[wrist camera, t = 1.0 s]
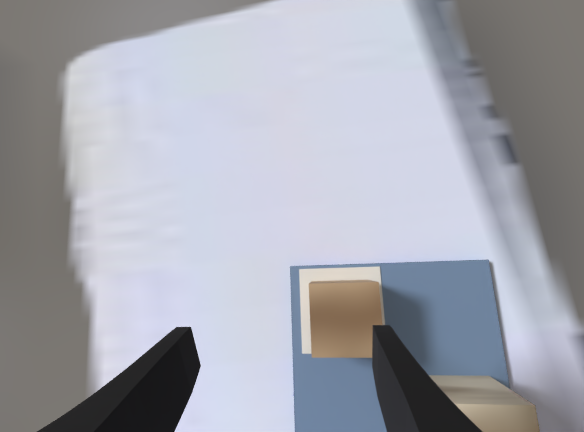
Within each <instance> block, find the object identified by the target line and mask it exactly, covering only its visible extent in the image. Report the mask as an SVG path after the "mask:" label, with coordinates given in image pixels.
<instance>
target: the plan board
mask: <svg viewBox="0 0 584 432" xmlns="http://www.w3.org/2000/svg"><path fill="white" fill-rule="evenodd" d="M290 277H291V312H292V346H293V380H294V415H295V432H387V430H386V426H385V423H384V419H383V415H382V412H381V408H380V404H379V401H378V397H377V392H376V386H375V381H374V375H373V369H372V358H312V354H311V330H310V306H309V283H310V282H311V281H336V280H372V281H376V282H379V291H380V302H381V313H382V324H383V325H390V326H391V327H392V328H393V330H394V331H395V333H396V334H397V335H398V337H399V338H400V340H401V341H402V342H403V344H404V345H405V346H406V348H407V349H408V350H409V352H410V353H411V354H412V356H413V357H414V358H415V359H416V361H417V362H418V363H419V364H420V365H421V367H422V368H423V369H424V370H425V371H426V373H427V374H428V375H457V376H490V377H492V378H493V379H495V380H497V381H498V382H500V383H501V384H503V385H504V386H506V387H507V388H509V389H510V386H509V380H508V374H507V368H506V362H505V356H504V350H503V344H502V338H501V332H500V326H499V320H498V314H497V308H496V302H495V296H494V290H493V284H492V278H491V272H490V266H489V260H466V261H436V262H405V263H375V264H345V265H315V266H290Z"/></svg>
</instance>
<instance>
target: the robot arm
mask: <svg viewBox="0 0 584 432" xmlns="http://www.w3.org/2000/svg"><path fill="white" fill-rule="evenodd" d="M200 366H201V365H200V361H199V357H198V353H197V349H196V345H195V341H194V337H193V333H192V329H191V327H176V328H175V329H174V330H172V331H171V332H170V333H169V334H167V335H166V336H165V337H164V338H163V339H161V340H160V341H159V342H158V343H157V344H155V345H154V346H153V347H152V348H151V349H150V350H148V351H147V352H146V353H145V354H144V355H142V356H141V357H140V358H139V359H138V360H136V361H135V362H134V363H133V364H132V365H130V366H129V367H128V368H127V369H125V370H124V371H123V372H122V373H120V374H119V375H118V376H116V377H115V378H114V379H113V380H111V381H110V382H109V383H107V384H106V385H105V386H104V387H102V388H101V389H100V390H98V391H97V392H96V393H94V394H93V395H92V396H90V397H89V398H87V399H86V400H85V401H83V402H82V403H81V404H79V405H77V406H76V407H75V408H73V409H72V410H70V411H69V412H67V413H66V414H64V415H63V416H61V417H60V418H58V419H57V420H55V421H53V422H52V423H50V424H49V425H47V426H46V427H44V428H42V429H41V430H39V431H37V432H174V431H175V429H176V427H177V425H178V422H179V420H180V418H181V416H182V414H183V412H184V409H185V407H186V405H187V403H188V400H189V398H190V396H191V394H192V391H193V388H194V385H195V382H196V379H197V376H198V373H199V369H200ZM372 369H373V375H374V381H375V386H376V392H377V397H378V401H379V404H380V408H381V412H382V415H383V419H384V423H385V426H386V430H387V432H483V431H482V430H480V429H479V428H478V427H477V426H476V425H475V424H474V423H473V422H472V421H471V420H470V419H469V418H468V417H467V416H466V415H465V414H464V413H463V412H462V411H461V410H460V409H459V408H458V407H457V406H456V405H455V404H454V403H453V402H452V401H451V400H450V399H449V397H448V396H447V395H446V394H445V393H444V392H443V391H442V390H441V389H440V388H439V387H438V385H437V384H436V383H435V382H434V381H433V380H432V379H431V377H430V376H429V375H428V374H427V373H426V371H425V370H424V369H423V368H422V367H421V365H420V364H419V363H418V362H417V361H416V359H415V358H414V357H413V356H412V354H411V353H410V352H409V350H408V349H407V348H406V346H405V345H404V344H403V342H402V341H401V340H400V338H399V337H398V335H397V334H396V333H395V331H394V330H393V328H392V327H391V326H390V325H373V333H372Z"/></svg>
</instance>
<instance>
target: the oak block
mask: <svg viewBox="0 0 584 432" xmlns="http://www.w3.org/2000/svg"><path fill="white" fill-rule="evenodd" d="M309 306H310V330H311V354H312V358H372V333H373V325H383V324H382V313H381V302H380V291H379V282H376V281H372V280H336V281H311V282H310V283H309Z"/></svg>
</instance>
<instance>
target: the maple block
mask: <svg viewBox="0 0 584 432" xmlns="http://www.w3.org/2000/svg"><path fill="white" fill-rule="evenodd" d="M429 376H430V377H431V379H432V380H433V381H434V382H435V383H436V384H437V385H438V387H439V388H440V389H441V390H442V391H443V392H444V393H445V394H446V395H447V396H448V397H449V399H450V400H451V401H452V402H453V403H454V404H455V405H456V406H457V407H458V408H459V409H460V410H461V411H462V412H463V413H464V414H465V415H466V416H467V417H468V418H469V419H470V420H471V421H472V422H473V423H474V424H475V425H476V426H477V427H478V428H479V429H480V430H482V431H483V432H540V430H539V425H538V419H537V413H536V408H535V405H534V404H532V403H531V402H529V401H528V400H526V399H524V398H523V397H521V396H520V395H518V394H517V393H515V392H514V391H512V390H511V389H509V388H507V387H506V386H504V385H503V384H501V383H500V382H498V381H497V380H495V379H493V378H492V377H490V376H457V375H429Z"/></svg>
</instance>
